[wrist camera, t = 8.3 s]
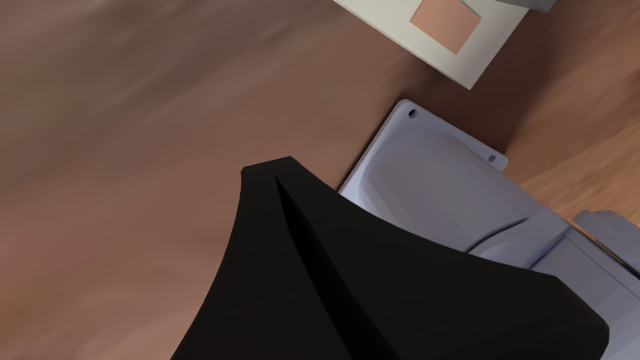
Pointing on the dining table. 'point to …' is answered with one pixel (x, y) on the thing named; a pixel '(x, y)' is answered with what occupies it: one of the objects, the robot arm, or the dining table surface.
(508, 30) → the fader panel
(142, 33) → the dining table surface
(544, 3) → the fader knob
